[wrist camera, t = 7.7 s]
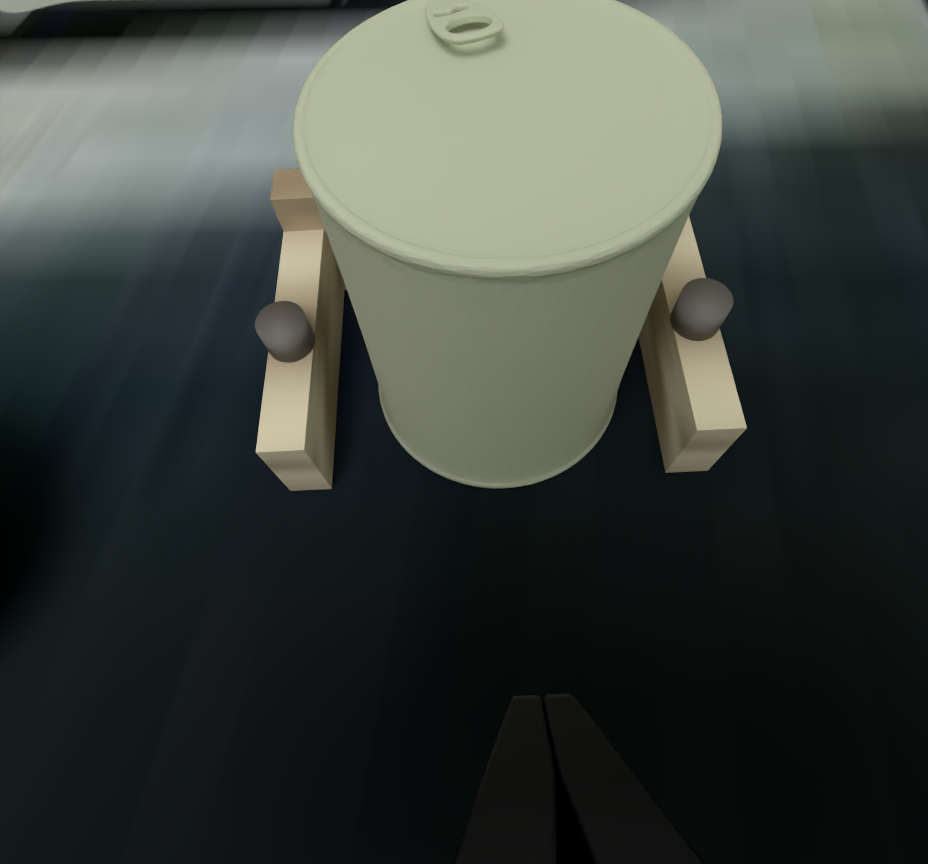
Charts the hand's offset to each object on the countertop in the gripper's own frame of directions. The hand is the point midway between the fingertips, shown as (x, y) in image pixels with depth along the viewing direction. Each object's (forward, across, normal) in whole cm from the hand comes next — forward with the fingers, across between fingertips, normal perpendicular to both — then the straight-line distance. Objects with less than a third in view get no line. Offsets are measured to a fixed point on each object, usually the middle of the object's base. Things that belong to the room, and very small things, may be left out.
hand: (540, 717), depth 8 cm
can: (+16, 0, -1) cm, 16 cm away
